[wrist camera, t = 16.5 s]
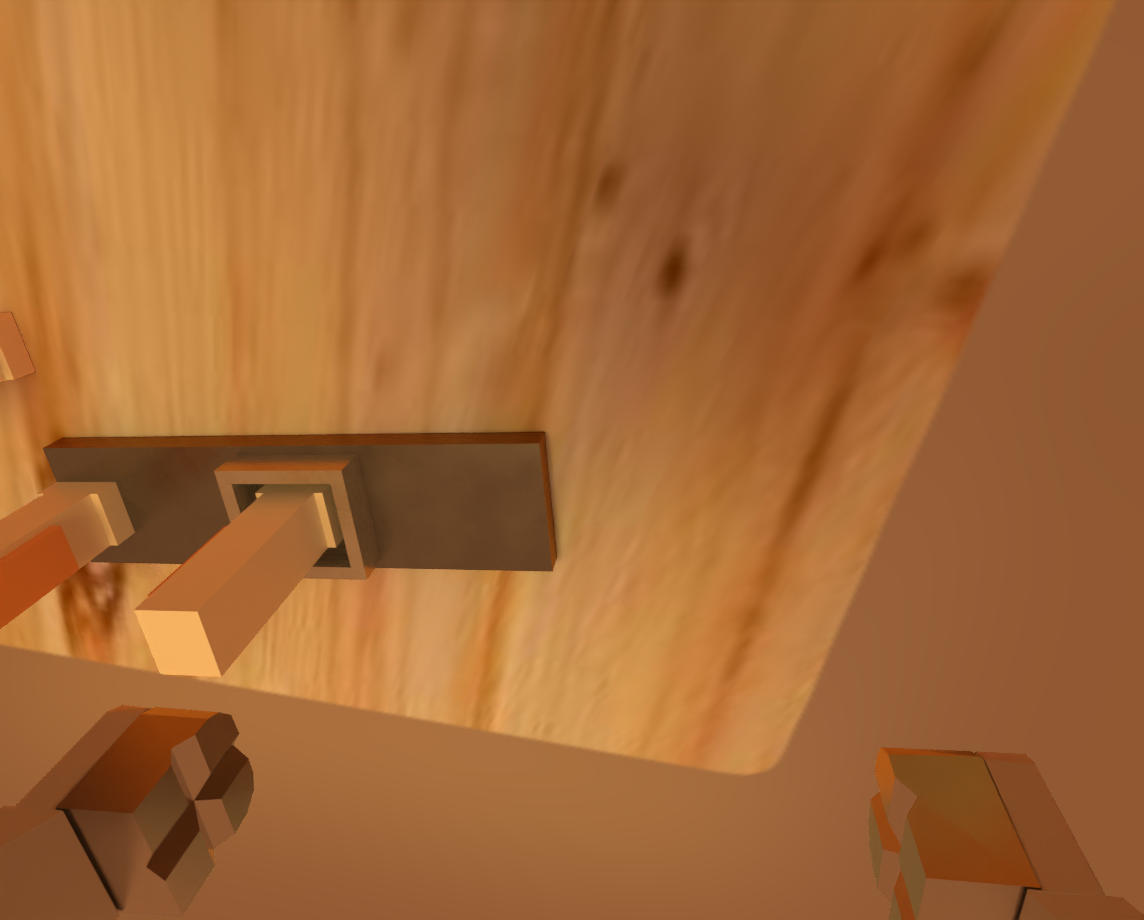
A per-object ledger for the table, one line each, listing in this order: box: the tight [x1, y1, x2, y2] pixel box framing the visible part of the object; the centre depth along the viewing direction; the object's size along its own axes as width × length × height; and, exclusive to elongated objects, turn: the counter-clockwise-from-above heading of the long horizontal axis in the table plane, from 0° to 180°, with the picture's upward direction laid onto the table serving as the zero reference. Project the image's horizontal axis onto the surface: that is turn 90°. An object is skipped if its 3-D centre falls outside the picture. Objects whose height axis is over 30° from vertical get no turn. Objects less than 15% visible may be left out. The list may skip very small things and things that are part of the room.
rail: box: [43, 432, 557, 580], centre depth 42 cm, size 8×30×4 cm, turn 94°
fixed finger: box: [0, 482, 135, 629], centre depth 39 cm, size 4×4×12 cm
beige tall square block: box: [134, 484, 344, 677], centre depth 37 cm, size 4×4×12 cm
